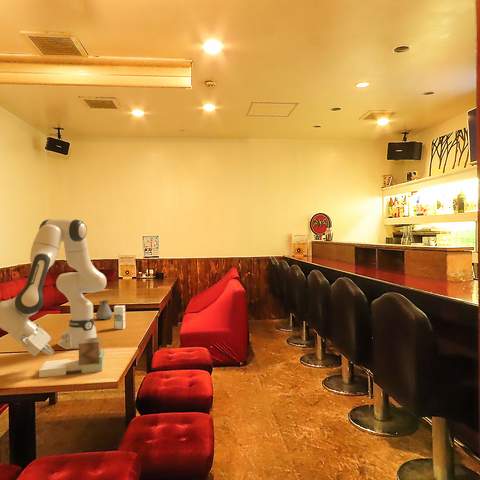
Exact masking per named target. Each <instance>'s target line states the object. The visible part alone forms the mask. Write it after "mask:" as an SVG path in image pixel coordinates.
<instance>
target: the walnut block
mask: <svg viewBox="0 0 480 480" xmlns="http://www.w3.org/2000/svg"><path fill="white" fill-rule="evenodd" d="M101 346H102V345H101V337H97V338H87V339H81V340H80V342H79V348H78V360H79V365H84V364H94V363H99V356H100V353H101V350H102V349H101Z"/></svg>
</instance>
